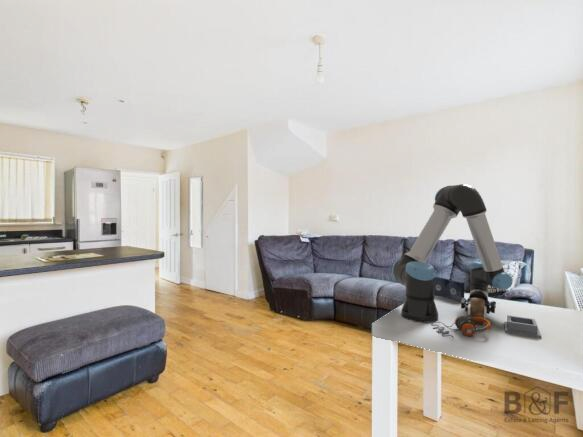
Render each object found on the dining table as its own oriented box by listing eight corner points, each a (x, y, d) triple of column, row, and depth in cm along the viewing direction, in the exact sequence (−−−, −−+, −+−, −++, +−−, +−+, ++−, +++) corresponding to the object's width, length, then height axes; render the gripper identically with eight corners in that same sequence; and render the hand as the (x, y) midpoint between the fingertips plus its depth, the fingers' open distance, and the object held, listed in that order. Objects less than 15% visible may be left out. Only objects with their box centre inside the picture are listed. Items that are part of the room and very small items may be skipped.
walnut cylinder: (469, 324, 133) (470, 300, 133) (470, 320, 137) (470, 297, 137) (484, 326, 130) (484, 302, 130) (484, 322, 135) (484, 299, 134)
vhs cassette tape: (464, 301, 166) (464, 282, 165) (460, 302, 164) (461, 283, 164) (434, 293, 182) (434, 275, 182) (430, 294, 181) (430, 276, 181)
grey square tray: (505, 332, 124) (505, 322, 124) (504, 323, 134) (504, 314, 134) (541, 338, 119) (541, 327, 118) (537, 328, 128) (537, 318, 128)
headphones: (426, 317, 134) (476, 308, 132) (429, 329, 134) (479, 320, 132) (440, 333, 117) (498, 322, 115) (444, 347, 117) (501, 337, 115)
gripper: (501, 310, 145) (503, 326, 125) (456, 303, 154) (451, 318, 134) (501, 293, 144) (504, 306, 124) (456, 288, 154) (452, 300, 134)
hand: (477, 312), depth 129 cm, fingers closed on walnut cylinder, 5 cm apart
